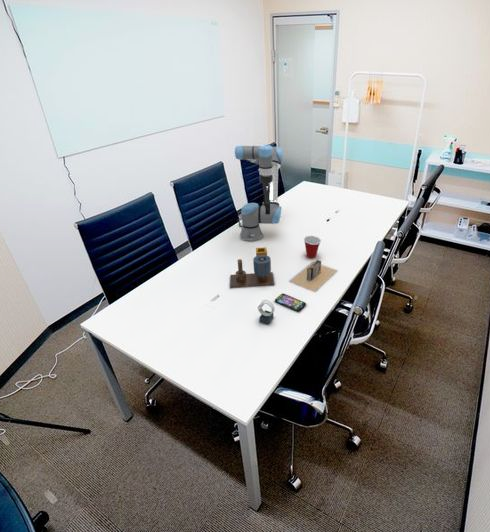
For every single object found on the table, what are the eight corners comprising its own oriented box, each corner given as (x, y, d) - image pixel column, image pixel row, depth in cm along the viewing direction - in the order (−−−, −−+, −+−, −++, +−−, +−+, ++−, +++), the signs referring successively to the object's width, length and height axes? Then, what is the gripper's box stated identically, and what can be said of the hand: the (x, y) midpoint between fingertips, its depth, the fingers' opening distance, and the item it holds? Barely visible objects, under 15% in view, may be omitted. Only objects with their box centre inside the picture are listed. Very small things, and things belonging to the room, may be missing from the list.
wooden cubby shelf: (256, 260, 206) (255, 247, 201) (266, 259, 207) (266, 247, 202) (256, 266, 200) (256, 253, 196) (267, 265, 201) (267, 252, 196)
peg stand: (230, 288, 181) (228, 266, 174) (230, 276, 190) (228, 255, 183) (274, 285, 184) (273, 263, 176) (272, 274, 193) (272, 253, 186)
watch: (261, 313, 163) (261, 296, 157) (276, 318, 160) (276, 300, 154) (256, 320, 159) (255, 302, 153) (271, 325, 156) (270, 307, 150)
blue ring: (250, 270, 185) (250, 258, 181) (263, 265, 190) (263, 253, 186) (260, 277, 179) (260, 265, 175) (274, 271, 184) (273, 259, 180)
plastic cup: (319, 261, 206) (320, 244, 199) (301, 259, 207) (302, 242, 201) (321, 252, 215) (322, 236, 208) (304, 251, 216) (305, 234, 210)
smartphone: (298, 311, 163) (273, 300, 171) (298, 312, 164) (273, 301, 171) (306, 302, 169) (282, 292, 176) (306, 304, 169) (282, 294, 177)
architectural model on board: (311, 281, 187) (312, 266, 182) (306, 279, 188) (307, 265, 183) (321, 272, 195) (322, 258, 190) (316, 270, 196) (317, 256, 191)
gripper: (258, 168, 199) (259, 202, 211) (260, 181, 178) (261, 218, 190) (270, 168, 200) (271, 201, 212) (274, 181, 179) (275, 217, 191)
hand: (267, 209), depth 201 cm, fingers open, 13 cm apart
